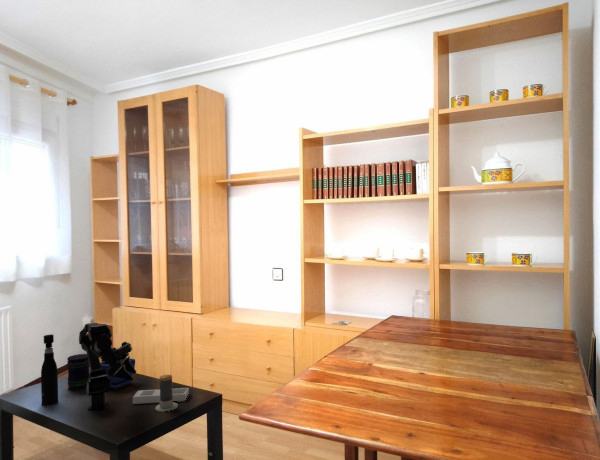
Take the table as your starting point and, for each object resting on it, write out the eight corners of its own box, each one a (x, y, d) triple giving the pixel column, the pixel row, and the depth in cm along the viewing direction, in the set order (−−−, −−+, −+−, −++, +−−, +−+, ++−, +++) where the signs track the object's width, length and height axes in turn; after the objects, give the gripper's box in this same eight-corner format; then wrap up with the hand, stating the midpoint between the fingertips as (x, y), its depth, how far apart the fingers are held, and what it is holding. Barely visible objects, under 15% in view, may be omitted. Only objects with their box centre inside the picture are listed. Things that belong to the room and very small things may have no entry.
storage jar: (94, 383, 217) (93, 353, 217) (82, 390, 207) (81, 359, 207) (76, 383, 218) (75, 353, 218) (63, 390, 208) (62, 359, 209)
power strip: (185, 401, 190) (185, 393, 190) (132, 403, 188) (132, 396, 188) (188, 394, 198) (188, 387, 198) (138, 397, 196) (138, 390, 196)
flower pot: (95, 388, 210) (95, 363, 211) (117, 379, 223) (117, 356, 223) (115, 391, 205) (115, 366, 205) (137, 382, 217) (136, 358, 217)
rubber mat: (175, 411, 179) (175, 409, 179) (153, 412, 178) (153, 411, 178) (179, 403, 188) (179, 401, 188) (158, 404, 187) (158, 402, 187)
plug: (171, 408, 180) (170, 378, 181) (158, 409, 180) (157, 379, 180) (174, 403, 186) (173, 374, 186) (161, 404, 186) (160, 374, 186)
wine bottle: (61, 400, 196) (59, 333, 196) (53, 405, 189) (52, 336, 190) (46, 400, 195) (45, 334, 196) (38, 406, 189) (37, 337, 189)
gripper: (115, 342, 173) (145, 367, 176) (123, 332, 192) (150, 355, 194) (94, 364, 172) (124, 389, 174) (104, 352, 190) (132, 375, 192)
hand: (134, 376), depth 183 cm, fingers open, 9 cm apart
